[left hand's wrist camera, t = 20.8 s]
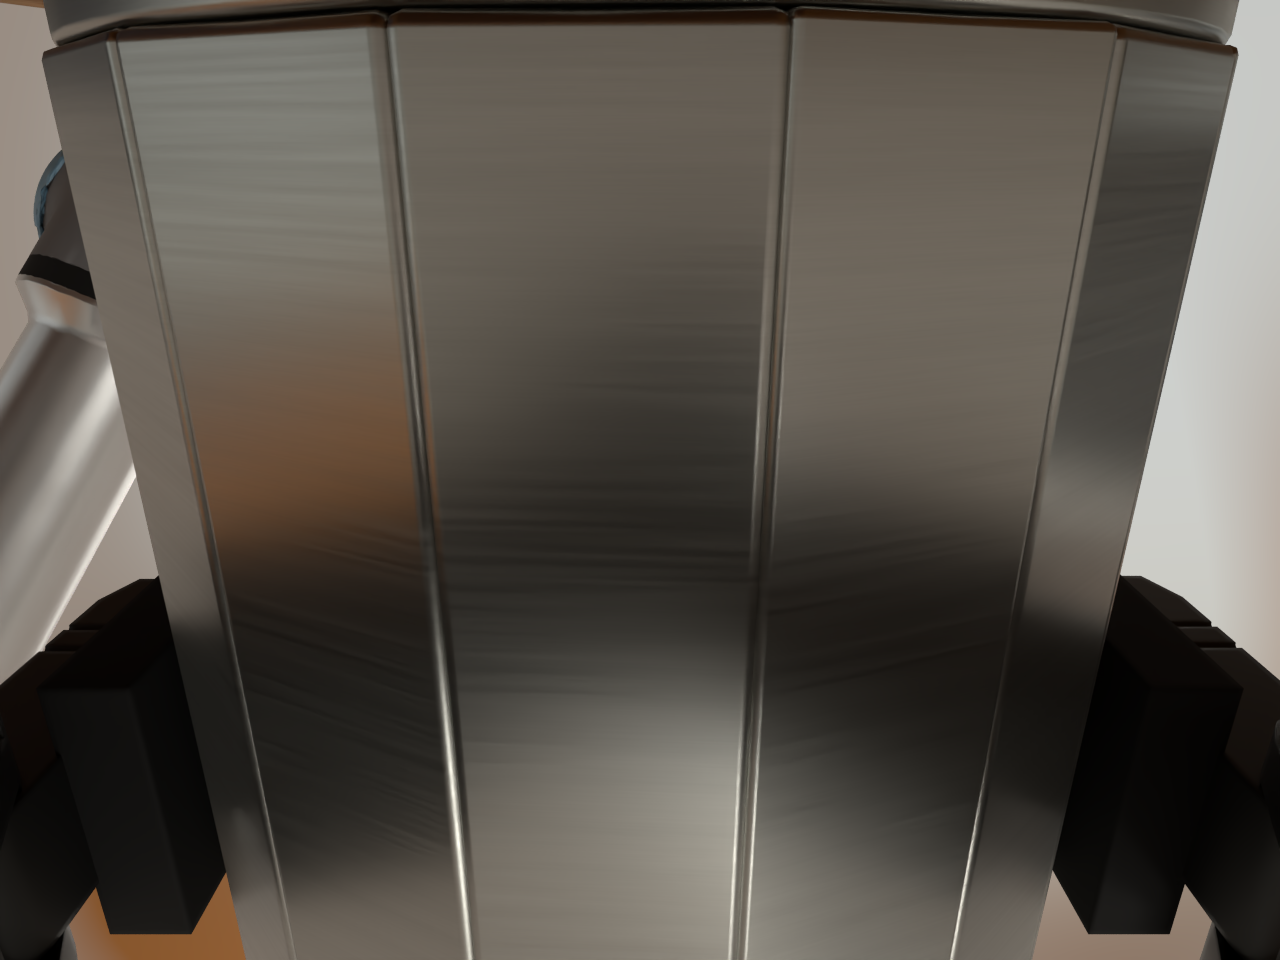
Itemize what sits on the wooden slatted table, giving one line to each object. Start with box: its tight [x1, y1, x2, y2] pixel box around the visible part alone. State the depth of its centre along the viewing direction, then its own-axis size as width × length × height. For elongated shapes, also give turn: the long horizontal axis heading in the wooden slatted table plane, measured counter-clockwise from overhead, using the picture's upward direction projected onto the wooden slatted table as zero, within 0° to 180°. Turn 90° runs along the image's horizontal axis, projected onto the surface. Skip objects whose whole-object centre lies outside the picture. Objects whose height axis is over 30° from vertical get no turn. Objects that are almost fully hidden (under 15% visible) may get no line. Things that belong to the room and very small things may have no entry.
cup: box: [42, 0, 1239, 960], centre depth 9 cm, size 8×8×10 cm
